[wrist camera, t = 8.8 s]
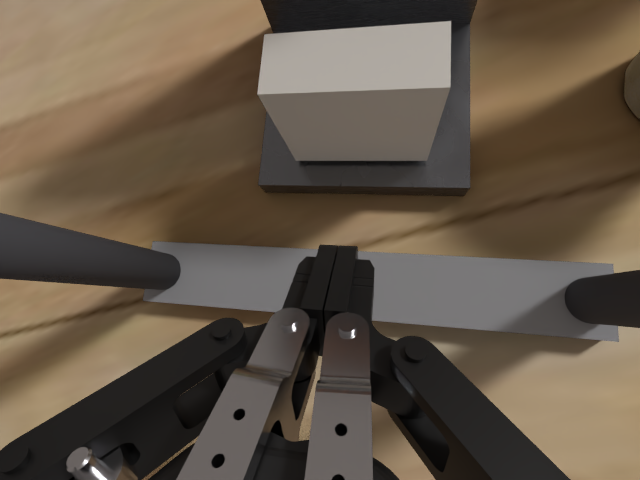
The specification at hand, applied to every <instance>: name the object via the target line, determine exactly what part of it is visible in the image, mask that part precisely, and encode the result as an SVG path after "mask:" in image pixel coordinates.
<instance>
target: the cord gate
mask: <svg viewBox="0 0 640 480" xmlns="http://www.w3.org/2000/svg"><path fill="white" fill-rule="evenodd" d="M317 252H318V249H301V248H281V247H260V246H240V245H220V244H200V243H179V242H159V241H153V243H152V249H151V250H150V249H146V248H142V247H138V246H134V245H130V244H126V243H122V242H118V241H114V240H109V239H105V238H101V237H97V236H93V235H89V234H85V233H81V232H77V231H73V230H68V229H64V228H60V227H56V226H52V225H48V224H44V223H40V222H36V221H31V220H27V219H23V218H19V217H15V216H11V215H7V214H3V213H0V278H1V279H15V280H29V281H43V282H57V283H71V284H85V285H99V286H113V287H127V288H141V289H145V291H144V297H143V301H150V302H162V303H173V304H185V305H197V306H208V307H220V308H232V309H243V310H255V311H266V312H277V311H279V310H281V309H282V308H283V305H284V302H285V299H286V297H287V294H288V291H289V289H290V286H291V283H292V282H293V278H294V275H295V272H296V270H297V267H298V264H299V263H300V262H301V261H302V260H303V259H304V258H305V257H306V256H310V257H316V255H317ZM358 259H364V260H370V261H371V263H372V265H373V267H374V268H375V271H374V300H373V313H372V321H383V322H394V323H406V324H418V325H429V326H441V327H453V328H464V329H476V330H488V331H499V332H511V333H522V334H534V335H546V336H557V337H569V338H581V339H592V340H604V341H616V342H619V336H618V326H625V327H636V328H640V270H636V271H629V272H622V273H614V270H613V264H605V263H585V262H564V261H544V260H524V259H504V258H483V257H463V256H443V255H422V254H402V253H382V252H362V251H358Z"/></svg>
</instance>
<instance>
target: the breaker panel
mask: <svg viewBox="0 0 640 480" xmlns="http://www.w3.org/2000/svg"><path fill="white" fill-rule="evenodd" d="M261 3H262V5H263V8H264V10H265V13H266V15H267V18H268V21H269V23H270V26H271V28H272V31H273V33H274V34H275V33H289V32H303V31H317V30H331V29H346V28H360V27H374V26H388V25H402V24H416V23H430V22H444V21H451V87H450V91H449V94H448V97H447V100H446V103H445V106H444V109H443V112H442V115H441V119H440V122H439V125H438V128H437V131H436V134H435V137H434V140H433V143H432V147H431V150H430V153H429V156H428V159H427V161H296V160H295V158H294V157H293V155H292V153H291V151H290V150H289V148H288V146H287V145H286V143H285V141H284V139H283V138H282V136H281V134H280V133H279V131H278V129H277V127H276V126H275V124H274V122H273V121H272V119H271V117H270V115H269V114H268V112H266V121H265V130H264V138H263V147H262V156H261V165H260V174H259V182H258V185H259V186H260V187H261V188H262V189H263V190H264V191H265V192H277V193H331V194H385V195H439V196H464V195H465V194H466V193H467V191H468V190H469V189H470V22H471V19H472V15H473V12H474V9H475V6H476V3H477V0H261Z"/></svg>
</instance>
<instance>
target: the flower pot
mask: <svg viewBox="0 0 640 480" xmlns="http://www.w3.org/2000/svg"><path fill="white" fill-rule="evenodd" d="M624 98H625V101H626V103H627V105H628V106H629V108H630V109H631V111H632V112H633V113H634V114H635V115H636V116H637V117H638V118H639V119H640V52H639V53H638V54H637V55H636V57H635V58H634V59H633V60H632V61H631V63H630V64H629V66H628V67H627V70H626V72H625V88H624Z"/></svg>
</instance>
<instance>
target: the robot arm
mask: <svg viewBox="0 0 640 480" xmlns="http://www.w3.org/2000/svg"><path fill="white" fill-rule="evenodd" d="M374 271H375V268H374V267H373V265H372V263H371V261H370V260H364V259H358V247H357V246H339V247H338V246H336V245H320V246H319V249H318V252H317V255H316V257H310V256H306V257H305V258H304V259H303V260H302V261H301V262H300V263H299V264H298V267H297V270H296V272H295V275H294V278H293V282H292V283H291V286H290V289H289V291H288V294H287V297H286V299H285V302H284V305H283V308H282V309H281V310H279V311H277V312H276V313H274V314H273V315H272V316H271V318H270V319H269V321H268V323H265V324H262V325H257V326H252V327H246V328H244V327H243V324H242V323H241V322H240V321H239V320H237V319H234V318H222V319H219V320H216V321H214V322H212V323H211V324H209V325H207V326H206V327H204V328H202V329H201V330H199V331H197V332H195V333H194V334H192V335H190V336H189V337H187V338H185V339H184V340H182V341H180V342H179V343H177V344H175V345H174V346H172V347H170V348H169V349H167V350H165V351H163V352H162V353H160V354H158V355H157V356H155V357H153V358H152V359H150V360H148V361H147V362H145V363H143V364H142V365H140V366H138V367H137V368H135V369H133V370H131V371H130V372H128V373H126V374H125V375H123V376H121V377H120V378H118V379H116V380H115V381H113V382H111V383H110V384H108V385H106V386H104V387H103V388H101V389H99V390H98V391H96V392H94V393H93V394H91V395H89V396H88V397H86V398H84V399H83V400H81V401H79V402H78V403H76V404H74V405H72V406H71V407H69V408H67V409H66V410H64V411H62V412H61V413H59V414H57V415H56V416H54V417H52V418H51V419H49V420H47V421H46V422H44V423H42V424H40V425H39V426H37V427H35V428H34V429H32V430H30V431H29V432H27V433H25V434H24V435H22V436H20V437H19V438H17V439H15V440H14V441H12V442H11V443H9V444H8V445H7V446H5V447H4V448H3V449H2V450H1V451H0V480H141V479H143V478H144V477H145V476H147V475H148V474H149V473H151V472H152V471H153V470H154V469H156V468H157V467H158V466H160V465H161V464H162V463H164V462H165V461H166V460H168V459H169V458H170V457H171V456H173V455H174V454H175V453H177V452H178V451H179V450H181V449H182V448H183V447H184V446H186V445H187V444H188V443H190V442H191V441H192V440H194V439H195V438H196V437H197V436H199V437H198V439H197V441H196V443H194V444H192V445H191V446H189V447H188V448H186V449H185V450H184V451H183V452H181V453H180V454H179V455H178V456H176V457H175V458H174V459H173V460H172V461H170V462H169V463H168V464H167V465H165V466H164V467H163V468H162V469H161V470H159V471H158V472H157V473H156V474H154V475H153V476H152V477H151V478H149V479H148V480H399V479H398V477H397V476H396V475H395V474H394V473H393V472H392V471H391V470H390V469H388V468H387V467H386V466H385V465H384V464H382V463H381V462H379V461H378V460H376V459H375V458H373V457H372V410H371V401H372V402H374V403H376V404H378V405H380V406H382V407H384V408H386V409H387V410H388V413H389V415H390V417H391V418H392V420H393V421H394V422H395V424H396V425H397V426H398V428H399V429H400V431H401V432H402V433H403V435H404V436H405V438H406V439H407V440H408V442H409V443H410V445H411V446H412V447H413V449H414V450H415V451H416V453H417V454H418V456H419V457H420V458H421V460H422V461H423V463H424V464H425V465H426V467H427V468H428V470H429V471H430V472H431V474H432V475H433V476H434V478H435V479H436V480H570V479H569V478H568V477H567V476H566V475H565V474H564V473H563V472H562V471H561V470H560V469H559V468H558V467H557V466H556V465H555V464H554V463H553V462H552V461H551V460H550V459H549V458H548V457H547V456H546V455H545V454H544V453H543V452H542V451H541V450H540V449H539V448H538V447H537V446H536V445H535V444H534V443H532V442H531V441H530V440H529V439H528V438H527V437H526V436H525V435H524V434H523V433H522V432H521V431H520V430H519V429H518V428H517V427H516V426H515V425H514V424H513V423H512V422H511V421H510V420H509V419H508V418H507V417H506V416H505V415H504V414H503V413H502V412H501V411H500V410H499V409H498V408H497V407H496V406H495V405H494V404H493V403H492V402H491V401H490V400H489V399H488V398H487V397H486V396H485V395H484V394H483V393H482V392H481V391H480V390H479V389H478V388H477V387H476V386H475V385H474V384H473V383H472V382H471V381H469V380H468V379H467V378H466V377H465V376H464V375H463V374H462V373H461V372H460V371H459V370H458V369H457V368H456V367H455V366H454V365H453V364H452V363H451V362H450V361H449V360H448V359H447V358H446V357H445V356H444V355H443V354H442V353H441V352H440V351H439V350H438V349H437V348H436V347H435V346H434V345H433V344H432V343H430V342H429V341H427V340H425V339H423V338H420V337H416V336H407V337H403V338H400V339H399V340H397V341H395V340H392V339H390V338H387V337H385V336H383V335H382V334H380V333H379V332H378V331H377V330H376V329H375V328H374V326H373V324H372V313H373V300H374ZM318 356H323V357H322V365H321V374H320V380H318V381H317V385H316V390H315V398H314V407H313V415H312V423H311V431H310V439H309V440H304V441H299V432H300V426H301V422H302V419H303V416H304V412H305V409H306V406H307V402H308V399H309V396H310V392H311V389H312V386H313V382H314V379H315V375H316V370H315V368H316V365H317V360H318ZM212 373H213V374H212ZM209 375H210V376H209ZM206 377H207V378H206ZM205 378H206V379H205ZM203 379H204V380H203ZM202 380H203V381H202ZM200 381H201V382H200ZM199 382H200V383H199ZM197 383H198V384H197ZM196 384H197V385H196ZM194 385H195V386H194ZM193 386H194V387H193ZM191 387H192V388H191ZM190 388H191V389H190ZM188 389H189V390H188ZM187 390H188V391H187ZM184 392H185V393H184ZM181 394H182V395H181ZM180 395H181V396H180Z"/></svg>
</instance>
